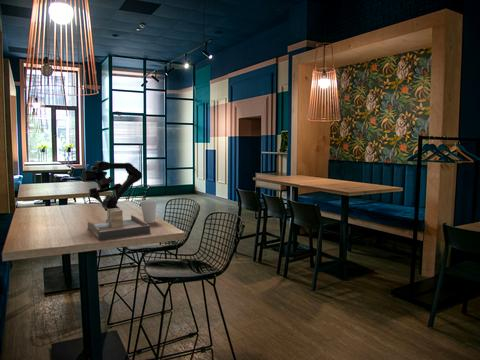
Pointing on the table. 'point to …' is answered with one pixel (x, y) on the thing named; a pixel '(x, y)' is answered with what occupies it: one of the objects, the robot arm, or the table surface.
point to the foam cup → (148, 210)
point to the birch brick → (115, 217)
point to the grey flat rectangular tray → (119, 229)
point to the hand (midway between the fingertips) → (110, 201)
